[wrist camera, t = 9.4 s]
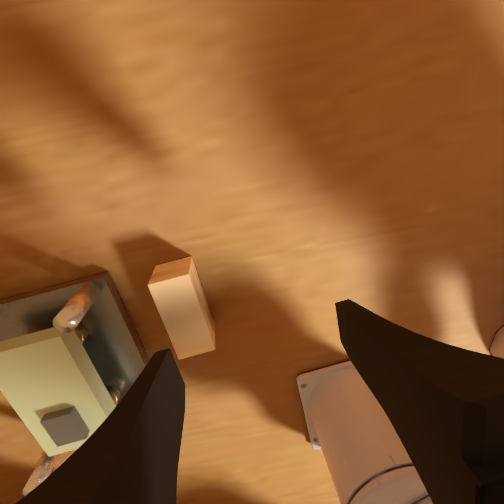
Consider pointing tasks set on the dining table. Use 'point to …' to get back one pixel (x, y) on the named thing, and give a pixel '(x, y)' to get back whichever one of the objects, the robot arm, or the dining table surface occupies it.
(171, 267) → the block
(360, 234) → the dining table surface
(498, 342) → the figurine
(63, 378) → the board
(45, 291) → the chassis
